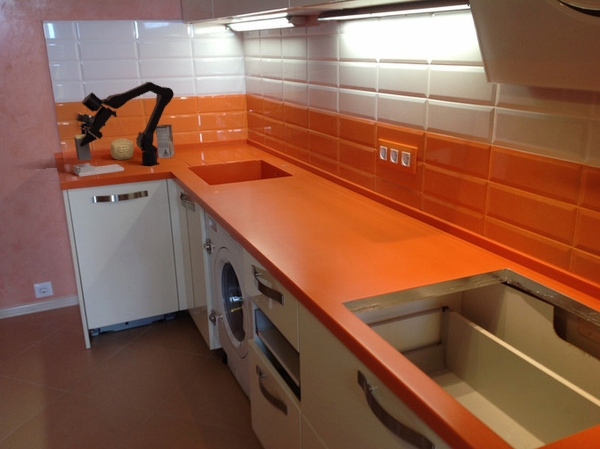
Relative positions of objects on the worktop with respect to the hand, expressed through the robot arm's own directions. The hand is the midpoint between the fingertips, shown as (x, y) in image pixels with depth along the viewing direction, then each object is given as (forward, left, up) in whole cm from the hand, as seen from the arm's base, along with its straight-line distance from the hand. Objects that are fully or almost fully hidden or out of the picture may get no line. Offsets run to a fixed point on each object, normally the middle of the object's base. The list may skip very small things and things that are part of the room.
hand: (79, 145), depth 247 cm
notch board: (-7, +2, -13) cm, 15 cm away
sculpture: (-31, -14, -13) cm, 37 cm away
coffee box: (-48, 0, -13) cm, 50 cm away
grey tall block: (-1, 0, -7) cm, 7 cm away
